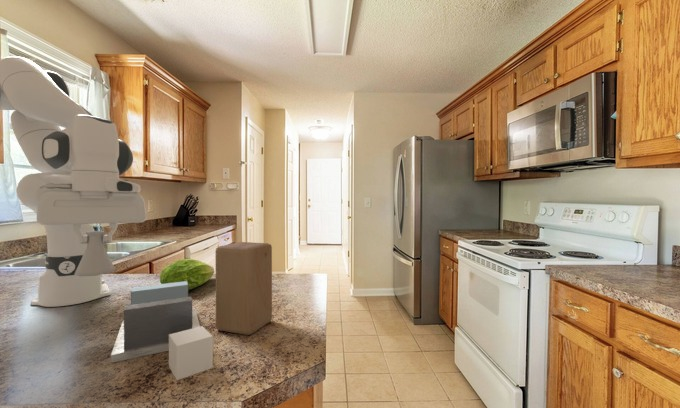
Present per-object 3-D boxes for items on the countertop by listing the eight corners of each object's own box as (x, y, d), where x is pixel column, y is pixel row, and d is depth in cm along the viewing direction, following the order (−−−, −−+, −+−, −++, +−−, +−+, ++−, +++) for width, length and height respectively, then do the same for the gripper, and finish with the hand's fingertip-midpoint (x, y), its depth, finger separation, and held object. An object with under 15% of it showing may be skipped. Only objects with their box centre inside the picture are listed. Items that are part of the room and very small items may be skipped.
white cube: (202, 356, 61) (202, 325, 61) (212, 368, 56) (212, 335, 56) (168, 366, 57) (168, 334, 57) (176, 380, 52) (176, 345, 52)
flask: (122, 270, 76) (121, 230, 75) (94, 278, 68) (94, 233, 68) (96, 269, 77) (96, 229, 76) (66, 276, 70) (66, 232, 69)
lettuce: (230, 265, 122) (206, 246, 123) (196, 277, 97) (166, 253, 99) (212, 289, 122) (189, 270, 123) (174, 307, 97) (144, 283, 99)
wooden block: (273, 320, 78) (273, 242, 78) (249, 337, 69) (249, 248, 69) (240, 316, 82) (240, 241, 81) (214, 331, 72) (213, 246, 72)
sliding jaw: (132, 319, 75) (132, 287, 75) (187, 310, 81) (186, 281, 81) (130, 324, 72) (130, 291, 71) (188, 315, 78) (187, 284, 77)
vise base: (122, 327, 74) (122, 288, 74) (195, 314, 82) (195, 279, 82) (110, 362, 58) (110, 313, 58) (202, 343, 66) (202, 299, 66)
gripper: (31, 182, 65) (31, 247, 65) (145, 185, 75) (145, 241, 75) (41, 183, 70) (41, 243, 70) (147, 186, 80) (147, 238, 80)
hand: (96, 242), depth 73 cm, fingers closed on flask, 3 cm apart
